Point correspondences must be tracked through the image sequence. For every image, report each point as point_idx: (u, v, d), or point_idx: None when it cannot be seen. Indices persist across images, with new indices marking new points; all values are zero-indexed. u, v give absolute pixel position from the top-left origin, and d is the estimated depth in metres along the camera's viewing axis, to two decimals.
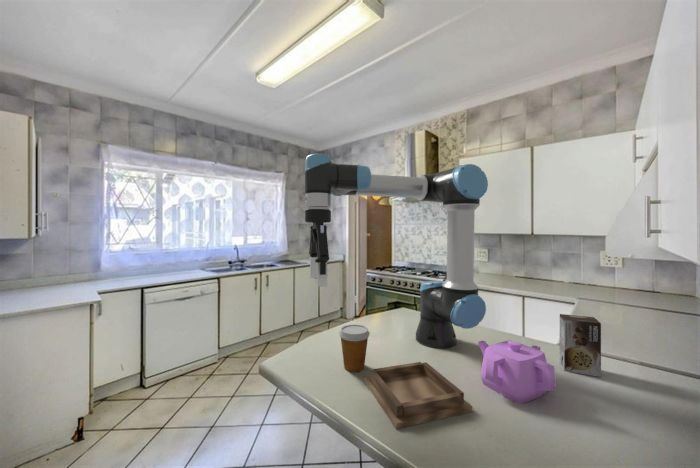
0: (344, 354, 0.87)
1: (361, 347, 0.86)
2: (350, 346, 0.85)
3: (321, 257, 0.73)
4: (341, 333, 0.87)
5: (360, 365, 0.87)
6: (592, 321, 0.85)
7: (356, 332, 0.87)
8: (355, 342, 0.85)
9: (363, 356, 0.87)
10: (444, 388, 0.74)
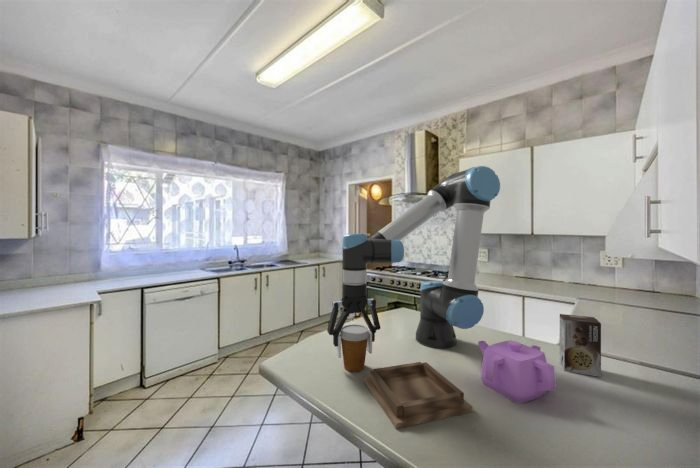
0: (344, 354, 0.87)
1: (361, 347, 0.86)
2: (350, 346, 0.85)
3: (328, 330, 0.87)
4: (341, 333, 0.87)
5: (360, 365, 0.87)
6: (592, 321, 0.85)
7: (356, 332, 0.87)
8: (355, 342, 0.85)
9: (363, 356, 0.87)
10: (444, 388, 0.74)
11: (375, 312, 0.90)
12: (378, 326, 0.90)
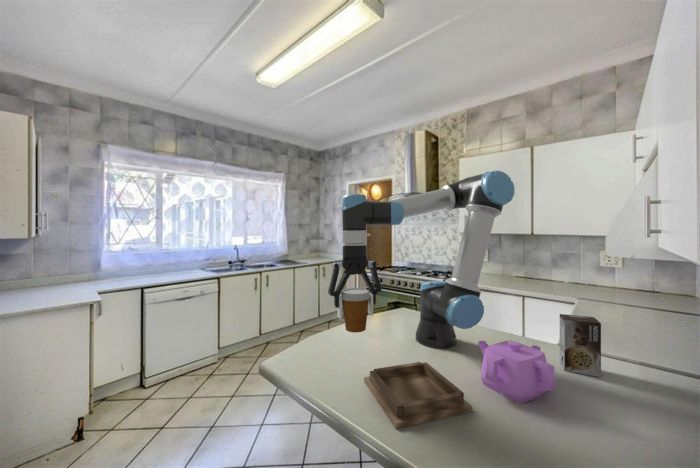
0: (345, 315, 0.87)
1: (362, 307, 0.86)
2: (351, 306, 0.85)
3: (328, 291, 0.87)
4: (342, 294, 0.87)
5: (362, 326, 0.87)
6: (592, 321, 0.85)
7: (357, 293, 0.87)
8: (356, 302, 0.85)
9: (364, 317, 0.87)
10: (444, 388, 0.74)
11: (376, 274, 0.90)
12: (379, 288, 0.90)
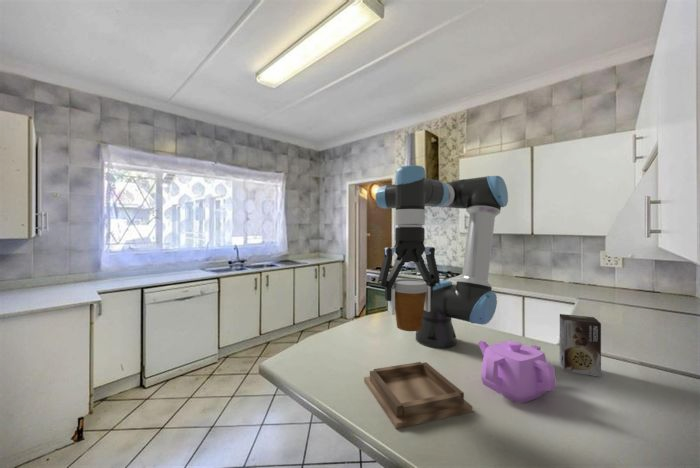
0: (398, 311, 0.73)
1: (420, 301, 0.71)
2: (407, 299, 0.71)
3: (378, 281, 0.73)
4: (395, 285, 0.73)
5: (418, 324, 0.72)
6: (592, 321, 0.85)
7: (413, 284, 0.73)
8: (413, 295, 0.71)
9: (421, 313, 0.72)
10: (444, 388, 0.74)
11: (434, 262, 0.75)
12: (437, 279, 0.76)
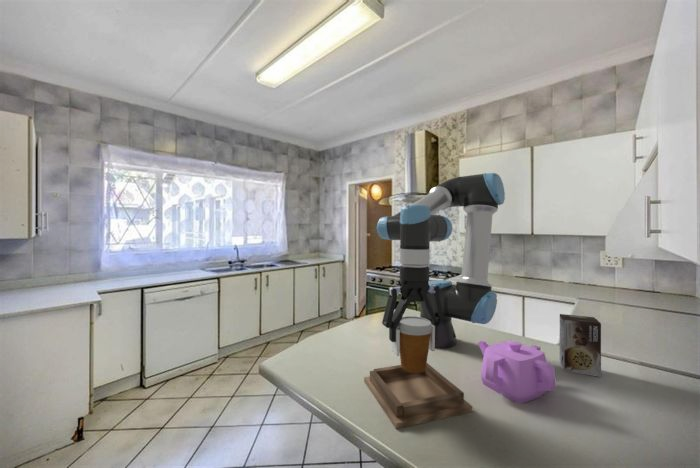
0: (403, 351, 0.72)
1: (425, 343, 0.70)
2: (412, 341, 0.70)
3: (383, 322, 0.72)
4: (399, 326, 0.72)
5: (423, 365, 0.71)
6: (592, 321, 0.85)
7: (418, 325, 0.72)
8: (418, 337, 0.70)
9: (426, 354, 0.72)
10: (444, 388, 0.74)
11: (438, 301, 0.75)
12: (441, 318, 0.75)
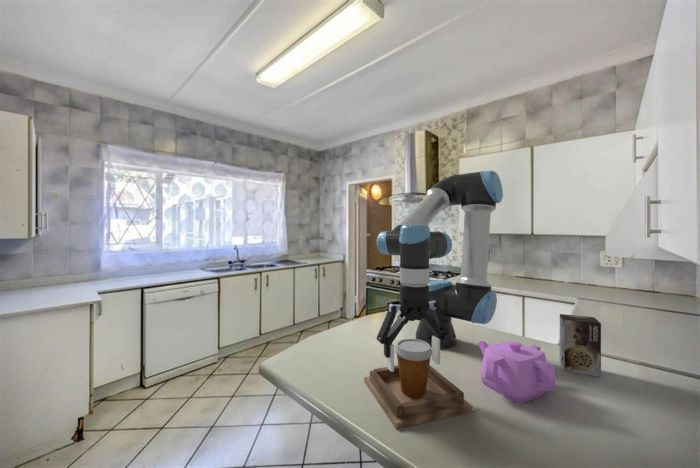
0: (403, 376, 0.72)
1: (424, 367, 0.71)
2: (411, 366, 0.70)
3: (377, 337, 0.72)
4: (399, 350, 0.72)
5: (423, 389, 0.72)
6: (592, 321, 0.85)
7: (417, 349, 0.72)
8: (418, 362, 0.70)
9: (426, 378, 0.72)
10: (444, 388, 0.74)
11: (440, 316, 0.75)
12: (446, 331, 0.76)
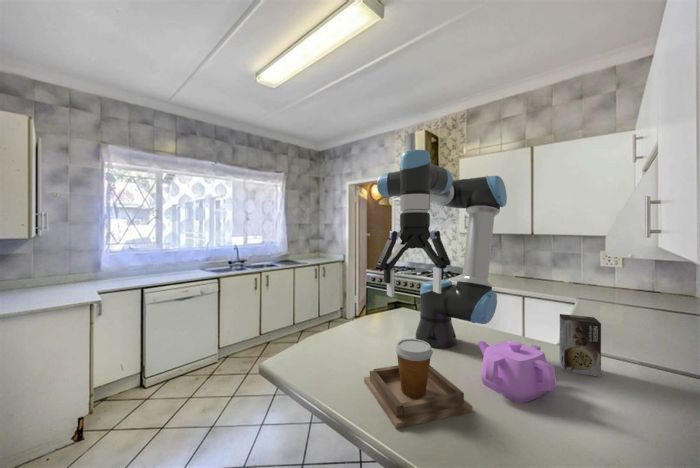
0: (403, 376, 0.72)
1: (425, 368, 0.71)
2: (412, 366, 0.70)
3: (377, 264, 0.71)
4: (399, 350, 0.72)
5: (423, 389, 0.72)
6: (592, 321, 0.85)
7: (417, 349, 0.72)
8: (418, 362, 0.70)
9: (426, 378, 0.72)
10: (444, 388, 0.74)
11: (441, 245, 0.75)
12: (448, 261, 0.75)
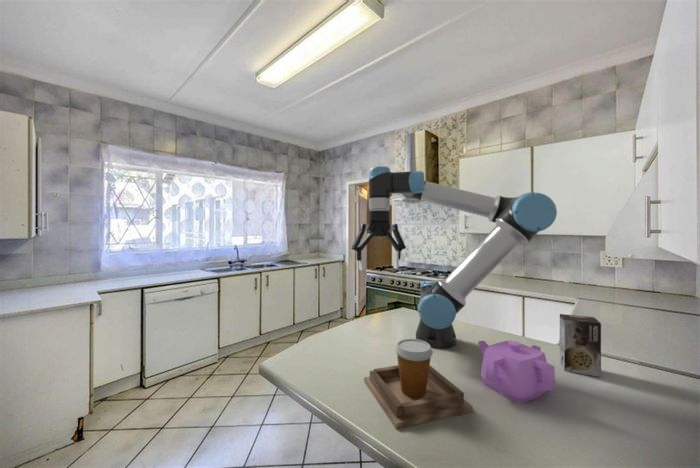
0: (403, 376, 0.72)
1: (425, 368, 0.71)
2: (412, 366, 0.70)
3: (352, 247, 1.01)
4: (399, 350, 0.72)
5: (423, 389, 0.72)
6: (592, 321, 0.85)
7: (417, 349, 0.72)
8: (418, 362, 0.70)
9: (426, 378, 0.72)
10: (444, 388, 0.74)
11: (398, 234, 1.04)
12: (403, 246, 1.05)
